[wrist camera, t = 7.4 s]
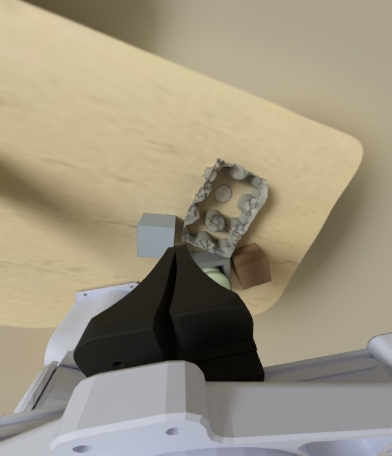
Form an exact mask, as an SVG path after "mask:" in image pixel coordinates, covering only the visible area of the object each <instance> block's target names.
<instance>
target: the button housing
mask: <svg viewBox="0 0 392 456" xmlns="http://www.w3.org/2000/svg"><path fill="white" fill-rule="evenodd" d="M189 254H190V255H191V257H192V258H193V260H194V261H195V262H196V264H197V265H198V266H199V267H200V268H201V269H203V268H209V267H215V266H220V267H221V273H222V274H224V275H225V276H226V277H227V279H228V282H229V284H230V290H231V291H232V289H231V271H230V258H226V257H223V256H221V255H219V254H217V253H212V252H209V251H207V250H203V251H196V252H190V253H189Z"/></svg>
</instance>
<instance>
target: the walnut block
mask: <svg viewBox="0 0 392 456" xmlns="http://www.w3.org/2000/svg"><path fill="white" fill-rule="evenodd" d="M231 260H232V264H233V268H234V271H235V273H236V276H237V278H238V280H239V282H240V284H241V286H242V288H243V289H247V288H250V287H253V286H257V285H260V284H263V283H266V282H270V281H271V276H270V269H269V263H268V258H267V257H266V255H265V254H264V253H263V252H262V251H261V249H260V248H259V247H258V246H257V245H256V243H253V244H250V245H246V246H243V247H240V248H237V249H234V251H233V253H232V255H231Z"/></svg>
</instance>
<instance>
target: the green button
mask: <svg viewBox="0 0 392 456" xmlns="http://www.w3.org/2000/svg"><path fill="white" fill-rule="evenodd" d="M202 270H203V271H204V272H205V273H206V274H207V275H208V276H209V277H210V278H212V279H213V280H214V281H216V282H217V283H218V284H220V285H222V286H223V287H225V288H227V289H229V290H230V284H229V282H228V279H227V277H226V276H225V275H224V274H222V273H220V270H219V267H218V266H215V267H209V268H203V269H202Z"/></svg>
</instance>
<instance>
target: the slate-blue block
mask: <svg viewBox="0 0 392 456" xmlns="http://www.w3.org/2000/svg"><path fill="white" fill-rule="evenodd" d="M175 218H176V216H173V215H162V214H150V213H144V214H143V216H142V217H141V219H140V221H139V223H138V224H137V257H147V258H161V257H162V256H163V254H164V253H165V251H166V250H167V248H168V247H173V245H174V234H175Z"/></svg>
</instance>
